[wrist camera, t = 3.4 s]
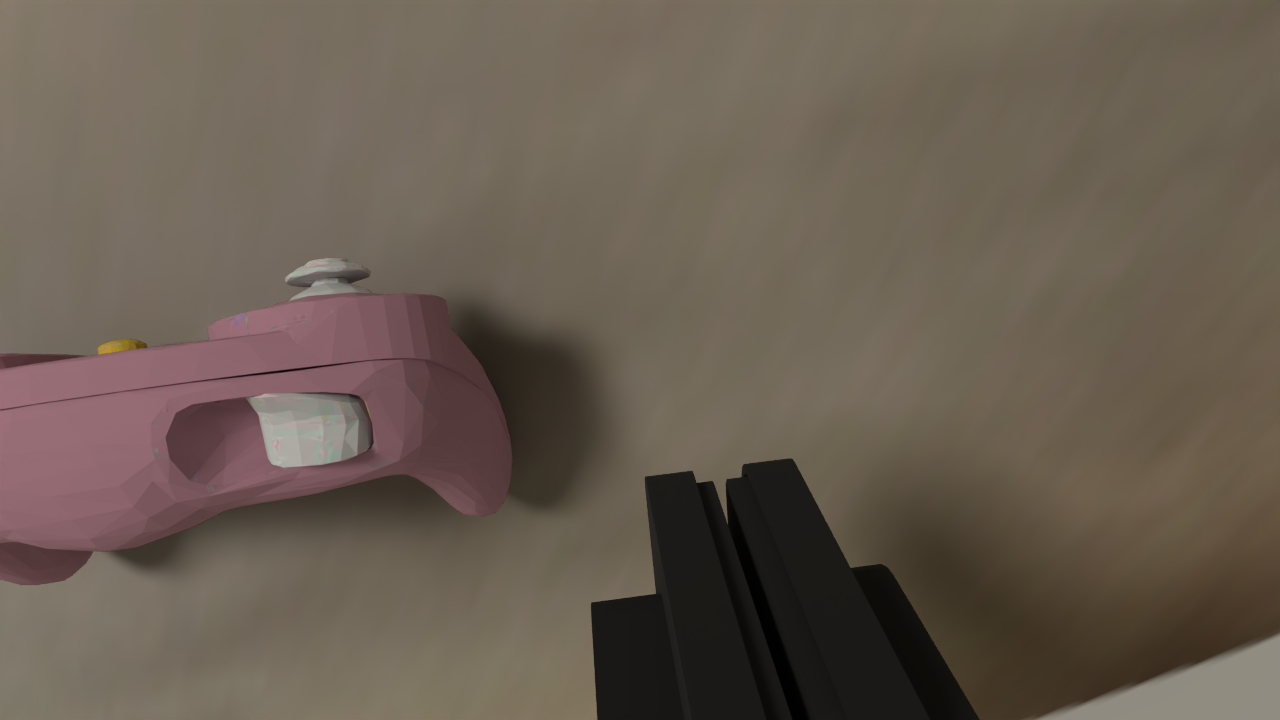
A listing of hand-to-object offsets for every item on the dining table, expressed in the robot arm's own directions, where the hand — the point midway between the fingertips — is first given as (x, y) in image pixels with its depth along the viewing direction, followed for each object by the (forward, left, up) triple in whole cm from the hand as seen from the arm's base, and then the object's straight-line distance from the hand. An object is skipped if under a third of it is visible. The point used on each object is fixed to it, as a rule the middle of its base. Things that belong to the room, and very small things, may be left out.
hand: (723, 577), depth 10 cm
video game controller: (+8, 0, -8) cm, 11 cm away
